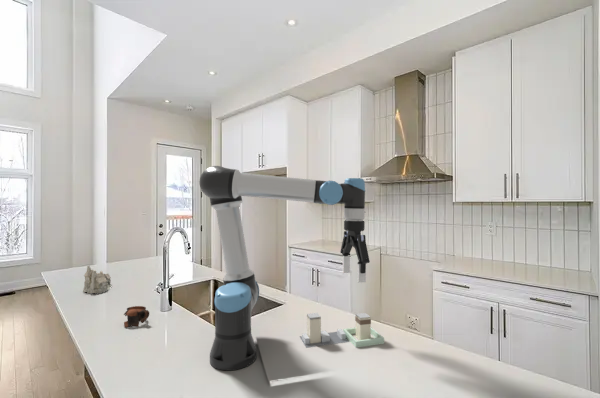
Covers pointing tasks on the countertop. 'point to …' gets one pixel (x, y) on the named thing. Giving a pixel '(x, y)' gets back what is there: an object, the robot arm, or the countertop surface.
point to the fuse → (314, 327)
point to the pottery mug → (136, 316)
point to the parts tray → (366, 342)
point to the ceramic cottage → (96, 281)
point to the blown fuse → (363, 326)
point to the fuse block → (325, 338)
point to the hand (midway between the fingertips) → (353, 277)
